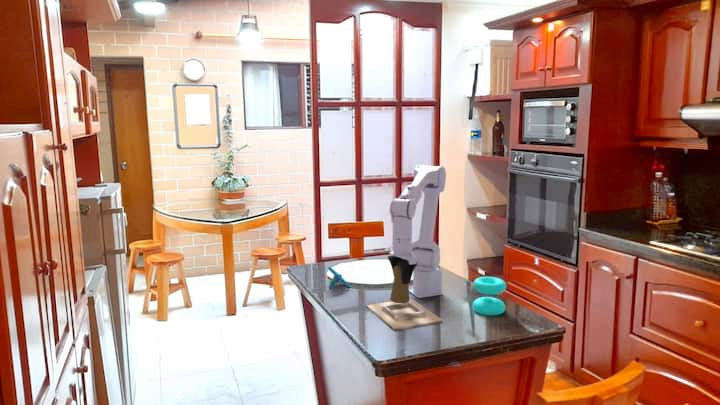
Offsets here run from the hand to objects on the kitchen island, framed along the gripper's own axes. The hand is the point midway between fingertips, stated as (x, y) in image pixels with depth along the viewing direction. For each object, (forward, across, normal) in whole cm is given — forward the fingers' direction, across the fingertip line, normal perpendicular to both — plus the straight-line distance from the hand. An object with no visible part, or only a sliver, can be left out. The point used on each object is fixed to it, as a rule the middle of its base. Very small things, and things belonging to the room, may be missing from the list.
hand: (401, 280), depth 160 cm
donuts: (+11, +9, +26) cm, 30 cm away
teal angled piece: (+11, -31, -10) cm, 34 cm away
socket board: (+10, +1, 0) cm, 10 cm away
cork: (+6, 0, -1) cm, 6 cm away
